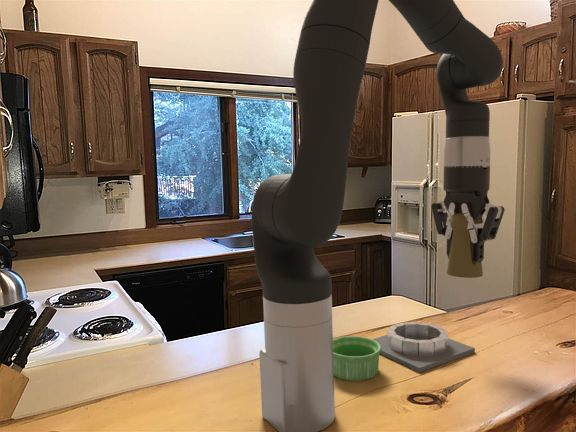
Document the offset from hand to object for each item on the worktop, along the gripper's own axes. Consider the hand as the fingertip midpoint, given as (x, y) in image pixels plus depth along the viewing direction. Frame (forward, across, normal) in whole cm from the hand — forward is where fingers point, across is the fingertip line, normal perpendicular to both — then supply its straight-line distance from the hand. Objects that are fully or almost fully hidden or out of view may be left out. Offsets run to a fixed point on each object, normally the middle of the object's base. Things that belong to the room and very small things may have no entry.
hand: (464, 261), depth 82 cm
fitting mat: (+17, -5, -6) cm, 18 cm away
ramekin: (+17, -5, -21) cm, 27 cm away
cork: (+2, 0, 0) cm, 2 cm away
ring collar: (+17, -5, -6) cm, 18 cm away
